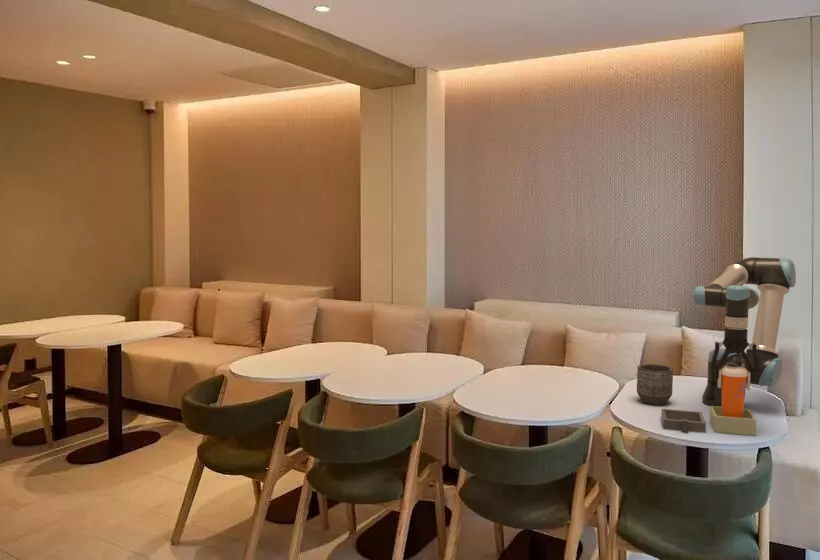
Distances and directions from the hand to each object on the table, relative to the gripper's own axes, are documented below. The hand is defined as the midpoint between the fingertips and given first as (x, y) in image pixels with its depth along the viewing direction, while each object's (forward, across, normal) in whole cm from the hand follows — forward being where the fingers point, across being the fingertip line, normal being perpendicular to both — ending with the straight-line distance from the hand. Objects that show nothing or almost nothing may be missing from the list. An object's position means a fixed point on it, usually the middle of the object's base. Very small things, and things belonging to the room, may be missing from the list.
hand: (733, 388), depth 238 cm
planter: (+16, -26, +28) cm, 41 cm away
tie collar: (+15, -17, -2) cm, 23 cm away
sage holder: (+15, 0, 0) cm, 15 cm away
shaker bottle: (+11, 0, 0) cm, 11 cm away
